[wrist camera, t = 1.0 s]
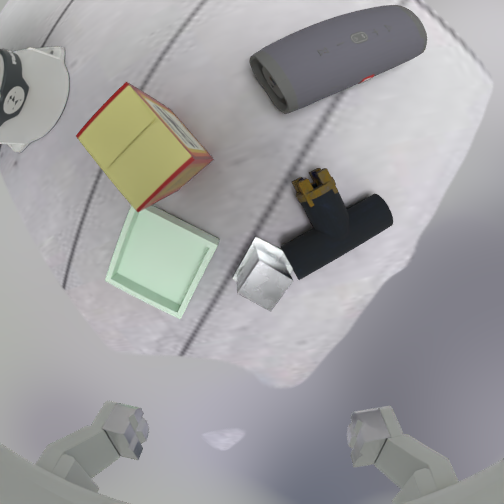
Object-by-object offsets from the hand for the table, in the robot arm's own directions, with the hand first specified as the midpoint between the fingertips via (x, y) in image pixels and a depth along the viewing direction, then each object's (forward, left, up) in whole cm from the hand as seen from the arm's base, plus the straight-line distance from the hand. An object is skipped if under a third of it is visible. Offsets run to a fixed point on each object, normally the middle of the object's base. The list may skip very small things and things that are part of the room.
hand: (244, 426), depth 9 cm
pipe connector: (+9, +7, -32) cm, 34 cm away
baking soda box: (-13, +5, -32) cm, 35 cm away
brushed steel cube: (+5, -4, -31) cm, 32 cm away
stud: (+6, -4, -32) cm, 32 cm away
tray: (-8, -9, -32) cm, 34 cm away
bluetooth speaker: (0, +27, -32) cm, 42 cm away
